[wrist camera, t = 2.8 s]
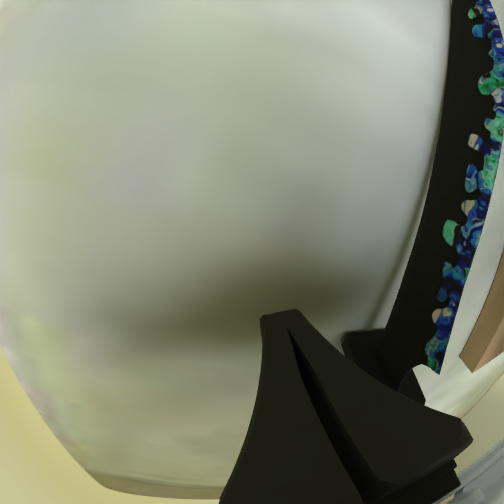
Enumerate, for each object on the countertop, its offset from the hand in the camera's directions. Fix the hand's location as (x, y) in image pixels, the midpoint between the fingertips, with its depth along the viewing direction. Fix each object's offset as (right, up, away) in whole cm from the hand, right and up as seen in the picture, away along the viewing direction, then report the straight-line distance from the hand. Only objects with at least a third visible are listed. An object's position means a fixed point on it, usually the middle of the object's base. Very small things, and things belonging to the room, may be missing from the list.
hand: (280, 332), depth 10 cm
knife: (+5, +2, +2) cm, 6 cm away
